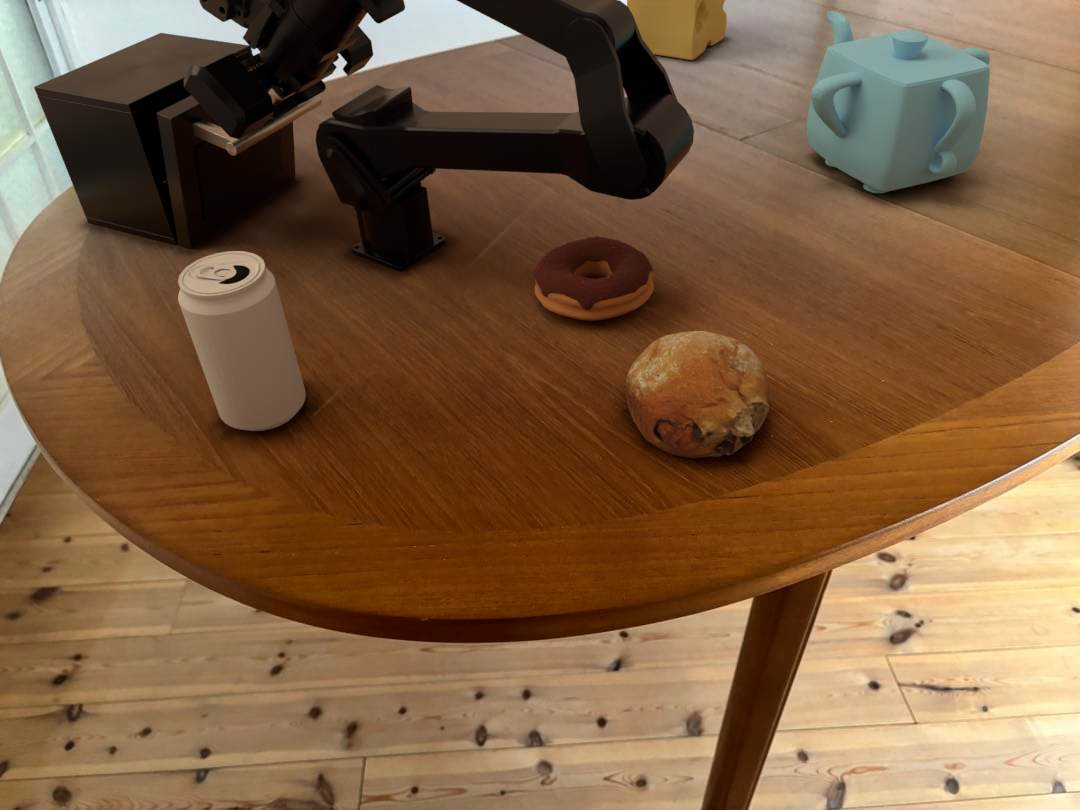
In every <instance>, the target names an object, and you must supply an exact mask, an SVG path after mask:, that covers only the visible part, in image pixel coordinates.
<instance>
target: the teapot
mask: <svg viewBox="0 0 1080 810" xmlns="http://www.w3.org/2000/svg"><path fill="white" fill-rule="evenodd" d="M826 16H827V18H828V20H829V22H830V25H831V29H832V34H833V35H832V36H833V42H832V43H833V44H830V45H829V46H828V47H827V48H826V52H825V54H824V56H823V59H822V60H823V61H822V63H821V65H820V68H819V72H818V75H817V77H816V80H815V84H814V86H813V88H812V89H811V93H810V103H809V108H808V113H807V119H806V126H805V127H806V140H807V144H808V146H809V147H810V148H811V149H812V150H813V151H814V152H815V153H817V154H818V155H819V156H820V157H822V158H823V159H824V163H825V164H826V165H827V166H829V167H833V168H836V169H838V170H840V171H841V172H842V173H845V174H846V175H848V176H850V177H852V178H854V179H855V180H857V181H858V182H861V183H862V184H863V185H862V187H863V189H864V190H865V191H867V192H869V193H873V194H885V193H888V192H891V191H897V190H901V189H906V188H910V187H914V186H918V185H922V184H927V183H931V182H934V181H938V180H942V179H946V178H950V177H953V176H957V175H959V174H963V173H964V174H965V173H966V172H968V171H969V170H970V168H971V166H972V164H973V163H974V161H975V159H976V157H977V155H978V153H979V150H980V148H981V143H982V139H983V134H984V129H985V125H986V124H985V123H986V119H987V110H988V102H989V89H990V77H991V76H990V75H991V67H990V66H989V64H990V60H991V56H990V53H989V52H988V51H987V50H985V49H984V48H983V49H982V48H980V47H966V48H956V47H954V46H951V45H949V44H946V43H944V42H941V41H939V40H936V39H934V38H931V37H929V35H928V34H926V33H924V32H922V31H918V30H912V29H906V30H898V31H896V32H891V33H885V34H879V35H875V36H870V37H863V38H859V39H854V34H853V32H852V31H853V30H852V27H851V25H850V23H849V20H848V19H847V18H846V17H845V16H844V15H843V14H841V13H839V12H837V11H831V10H829V11H827V12H826Z"/></svg>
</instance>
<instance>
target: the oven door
mask: <svg viewBox="0 0 1080 810" xmlns="http://www.w3.org/2000/svg"><path fill="white" fill-rule="evenodd" d="M322 102H323V100H322V97H321V96H320V94H318V95H317V96H315V97H313V98H312V99H310V100H308V101H306V102H304V103H302V104H299V105H298V106H297V107H296V108H294V109H293V110H291V111H289V112H287V113H286V114H284V115H282V116H281V117H278V118H273V119H270V120H268V121H266V122H265V123H264V124H263V125H262V126H261V127H260V128H258V129H256V130H255V131H253V132H251V133H250V134H248V135H246V136H244V137H243V138H241V139H236V138H232V137H229V135H228V134H227V133H226V132H225V131H224V130H223V129H222V128H221V127H220V126H219V125H218V123H217V122H216V121H215V120H214V119H213V118H212V117H211V116H210V115H209V114H208V113H207V111H206V110H205V109H204V108H203V107H202V106H201V105H200V104H199V103H198V102H197V101H196V99H195V98H194V97H193V96H192V95H191V96H189V97H187V98H185V99H183V100H181V101H179V102H177V103H175V104H173V105H171V106H169V107H167V108H165V109H163V110H161V111H159V112H157V118H158V124H159V130H160V136H161V142H162V149H163V155H164V161H165V167H166V173H167V179H168V185H169V192H170V198H171V204H172V210H173V216H174V222H175V228H176V235H177V241H178V245H179V246H182V247H183V248H185V249H187V250H192V249H194V248H195V247H197V246H198V245H200V244H201V243H203V242H204V241H206V240H208V239H209V238H210V237H212V236H213V235H215V234H216V233H218V232H219V231H221V230H222V229H223V228H225V227H227V226H228V225H230V224H231V223H233V222H234V221H235V220H238V219H239V218H240V217H242V216H244V215H245V214H247V213H248V212H250V211H251V210H253V209H254V208H255V207H257V206H258V205H260V204H261V203H263V202H264V201H266V200H268V199H269V198H270V197H272V196H274V195H275V194H276V193H279V192H280V191H281V190H282V189H284V188H286V187H287V186H288V185H290V184H291V183H293V182H295V181H296V180H297V176H296V175H297V173H296V157H295V156H296V155H295V153H296V152H295V134H294V122H295V121H296V120H298V119H299V118H301V117H302V116H305V115H306V114H307V113H310V112H311V111H312V110H314V109H316V108H318V107H319V106H321V105H322Z"/></svg>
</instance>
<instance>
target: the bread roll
mask: <svg viewBox="0 0 1080 810" xmlns="http://www.w3.org/2000/svg"><path fill="white" fill-rule="evenodd" d="M768 381H769V379H768V375H767V372H766V369H765V367H764V365H763V362H761V360H760V358H759V357H758V355H757V354H756V352H755V351H754V350H753V349H751V347H749V346H748V345H746V344H744V343H743V342H741V341H739V340H738V339H735V338H733V337H730V336H726V335H724V334H719V333H715V332H709V331H705V330H690V331H680V332H676V333H670V334H667V335H664V336H661V337H659V338H657V339H656V340H654V341H653V342H651V344H649V345H648V346H647V347H646V348H645V349H644V350H643V351H642V352H641V353H640V354H639V356H638V357H637V359H635V360H634V362H633V363H632V364H631V366H630V368H629V370H628V373H627V376H626V382H625V386H626V395H625V396H626V398H625V399H626V405H627V407H628V411H629V414H630V417H631V419H632V421H633V423H634V424H635V425H636V428H637V429H638V431H639V432H640V434H641V435H642V436H643V438H644V439H645V440H646V441H647V442H648V443H650V444H651V445H653V446H655V447H656V448H658V449H660V450H661V451H664V452H666V453H667V454H669V455H672V456H676V457H680V458H687V459H688V458H689V459H698V458H699V459H701V458H710V457H711V458H720V457H721V456H723V455H726V456H730V455H733V454H735V453H736V452H738V451H739V450H740V449H741V448H742V447H743V446H745V445H747V444H749V443H751V442H752V440H753V438H754V435H755V434H756V433H757V432H758V431H759V430H760V429H761V427H762V425H763V423H764V422H765V420H766V418H767V415H768V413H769V412H770V402H769V400H770V399H769V398H770V387H769V382H768Z"/></svg>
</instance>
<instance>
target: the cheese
mask: <svg viewBox="0 0 1080 810" xmlns="http://www.w3.org/2000/svg"><path fill="white" fill-rule="evenodd" d="M725 2H726V0H626V6H628V8H629V9H630V11H631V13H632V14H633V16H634V19H635V21H636V24H637V27H638V29H639V32H640V34H641V37H642V39H643V41H644V42H645V43H646V45H647V46H648V47H649V49H650V50H651V51H652V53H653V54H654V55H655V56H656V55H657V56H663V57H670V58H675V59H676V58H677V59H682V60H688V61H694V60H695V59H697V58H698V57H699V56H700V55H702V54H703V53H704V52H705V51H706V48H707V47H708V46H709V47H710V46H711V47H712V46H714V45H715V44H717V43H719V42H721V41H722V40H723V39H724V38H725V35H726V31H727V25H728V19H727V18H728V16H727V13H726V11H725V9H724V4H725Z"/></svg>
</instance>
